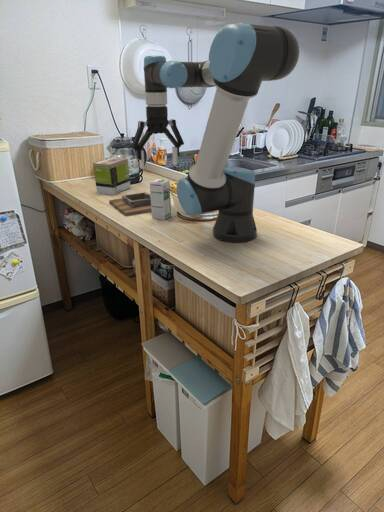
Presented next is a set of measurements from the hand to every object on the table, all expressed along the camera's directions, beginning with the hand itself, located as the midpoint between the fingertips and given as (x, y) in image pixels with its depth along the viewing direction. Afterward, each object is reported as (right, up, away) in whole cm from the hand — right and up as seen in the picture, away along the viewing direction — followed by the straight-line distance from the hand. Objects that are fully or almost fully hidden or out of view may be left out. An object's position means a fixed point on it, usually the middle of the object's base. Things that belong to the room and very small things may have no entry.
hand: (159, 166), depth 140 cm
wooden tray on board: (-10, -12, +21) cm, 27 cm away
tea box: (-26, -1, +45) cm, 52 cm away
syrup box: (0, -18, +8) cm, 20 cm away
